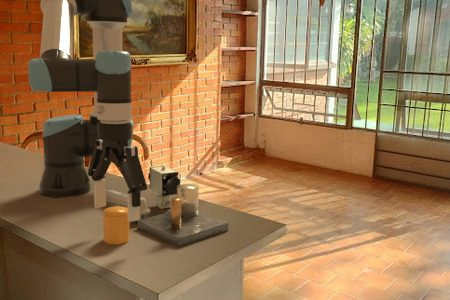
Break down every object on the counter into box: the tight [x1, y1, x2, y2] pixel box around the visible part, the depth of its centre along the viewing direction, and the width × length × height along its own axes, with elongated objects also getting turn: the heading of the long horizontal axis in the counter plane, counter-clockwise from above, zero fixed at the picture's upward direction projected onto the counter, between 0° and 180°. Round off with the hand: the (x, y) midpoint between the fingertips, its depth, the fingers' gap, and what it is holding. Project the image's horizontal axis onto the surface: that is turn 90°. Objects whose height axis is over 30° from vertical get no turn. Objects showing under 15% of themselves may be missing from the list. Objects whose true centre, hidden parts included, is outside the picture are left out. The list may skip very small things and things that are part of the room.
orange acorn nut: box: [102, 205, 131, 245], centre depth 114 cm, size 6×6×7 cm
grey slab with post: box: [136, 183, 229, 247], centre depth 122 cm, size 16×16×9 cm
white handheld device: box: [106, 187, 151, 223], centre depth 135 cm, size 5×7×25 cm
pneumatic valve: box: [147, 165, 181, 210], centre depth 139 cm, size 6×12×12 cm, turn 32°
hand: (116, 213), depth 113 cm, fingers open, 13 cm apart
